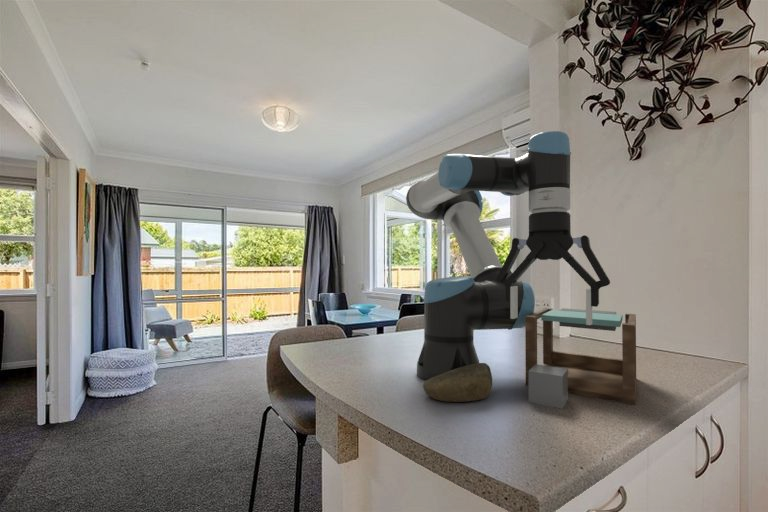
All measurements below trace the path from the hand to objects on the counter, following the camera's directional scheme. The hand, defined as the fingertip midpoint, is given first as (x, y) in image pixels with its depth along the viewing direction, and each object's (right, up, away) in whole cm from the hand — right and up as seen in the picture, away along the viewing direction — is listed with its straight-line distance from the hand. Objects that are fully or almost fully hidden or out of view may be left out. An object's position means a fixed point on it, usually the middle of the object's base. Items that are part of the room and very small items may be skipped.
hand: (549, 321), depth 73 cm
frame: (+13, -16, +12) cm, 23 cm away
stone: (-17, -16, +1) cm, 23 cm away
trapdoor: (+15, -5, +15) cm, 21 cm away
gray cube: (0, -16, 0) cm, 16 cm away
